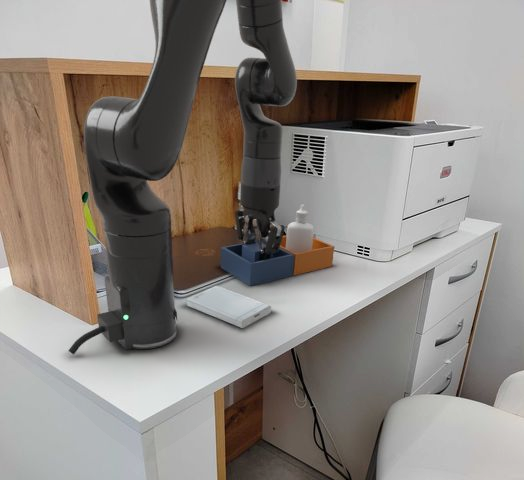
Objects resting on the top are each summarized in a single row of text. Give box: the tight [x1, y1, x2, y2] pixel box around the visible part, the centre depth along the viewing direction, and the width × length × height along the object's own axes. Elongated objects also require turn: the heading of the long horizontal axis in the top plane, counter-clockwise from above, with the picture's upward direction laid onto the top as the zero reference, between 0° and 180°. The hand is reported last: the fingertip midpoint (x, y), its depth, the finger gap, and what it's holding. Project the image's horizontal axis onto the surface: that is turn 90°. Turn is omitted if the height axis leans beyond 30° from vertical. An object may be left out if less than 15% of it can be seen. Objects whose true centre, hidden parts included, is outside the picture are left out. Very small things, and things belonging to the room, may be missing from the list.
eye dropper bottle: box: [286, 204, 315, 253], centre depth 105 cm, size 4×6×12 cm
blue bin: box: [220, 242, 294, 287], centre depth 101 cm, size 11×11×4 cm
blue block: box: [242, 243, 273, 263], centre depth 101 cm, size 4×4×4 cm
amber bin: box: [273, 234, 335, 276], centre depth 107 cm, size 11×11×4 cm
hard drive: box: [186, 285, 272, 329], centre depth 86 cm, size 2×8×12 cm
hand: (256, 266), depth 102 cm, fingers closed on blue block, 4 cm apart
